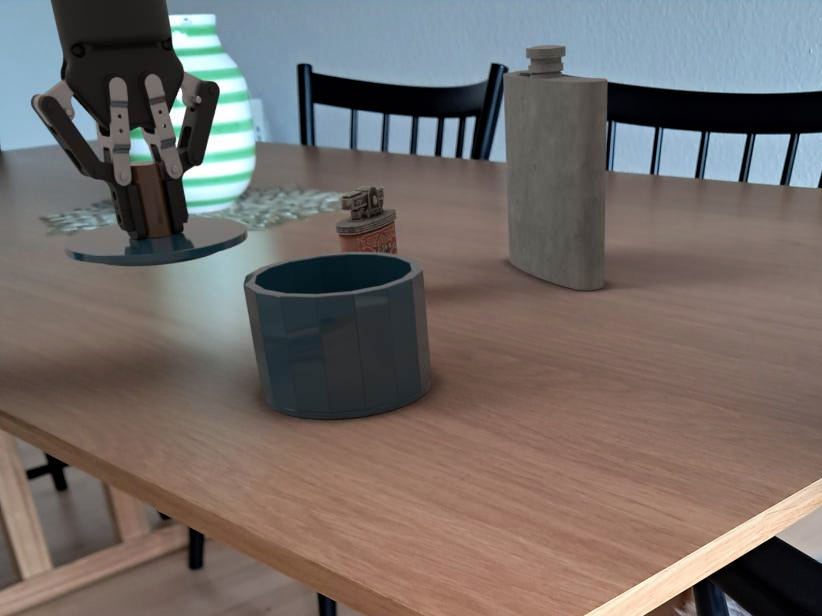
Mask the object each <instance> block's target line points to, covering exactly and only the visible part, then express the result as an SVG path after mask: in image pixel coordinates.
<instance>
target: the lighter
mask: <svg viewBox="0 0 822 616" xmlns="http://www.w3.org/2000/svg"><path fill="white" fill-rule="evenodd" d="M384 191H385V190H384V186H379V185H377V186H374V185H358V186H356V188H355V189H354V190H353V191H350V192H347V193H345V194H342V195H341V196H342V197H340V198H339V199H340V206H341V211H344V212H345V211H350V212H349V213H350V216H347V217H345V218H343V219H341V220H339V221H337V222H336V223H335V224H334V225H335V233H336V234H337V235H338V239H339V241H338V242H339V247H340V253H342V252H382V253H389V254H396V255H399V254H398V245H397V234H396V223H395V220H396V219H397V212H396V209H395V208H391V207H384V203H385V202H384V199H385V192H384Z"/></svg>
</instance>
